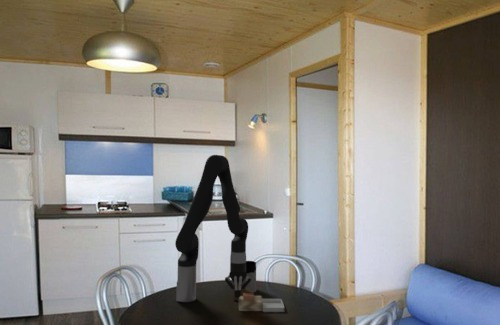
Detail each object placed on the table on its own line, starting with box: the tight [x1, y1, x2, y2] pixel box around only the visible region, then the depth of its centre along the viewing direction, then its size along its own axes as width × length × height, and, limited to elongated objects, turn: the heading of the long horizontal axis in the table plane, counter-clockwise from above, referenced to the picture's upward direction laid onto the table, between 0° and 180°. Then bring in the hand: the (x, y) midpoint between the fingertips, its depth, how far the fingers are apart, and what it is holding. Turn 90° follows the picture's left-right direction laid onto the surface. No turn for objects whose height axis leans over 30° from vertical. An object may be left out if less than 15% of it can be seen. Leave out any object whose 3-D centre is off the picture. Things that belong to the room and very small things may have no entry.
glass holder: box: [243, 260, 257, 293], centre depth 207 cm, size 9×14×15 cm, turn 102°
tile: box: [243, 292, 255, 301], centre depth 182 cm, size 5×5×2 cm
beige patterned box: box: [238, 295, 263, 312], centre depth 182 cm, size 11×9×4 cm
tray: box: [262, 298, 286, 313], centre depth 183 cm, size 10×12×2 cm
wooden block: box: [232, 282, 252, 302], centre depth 193 cm, size 9×4×18 cm, turn 89°
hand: (237, 297), depth 182 cm, fingers closed
